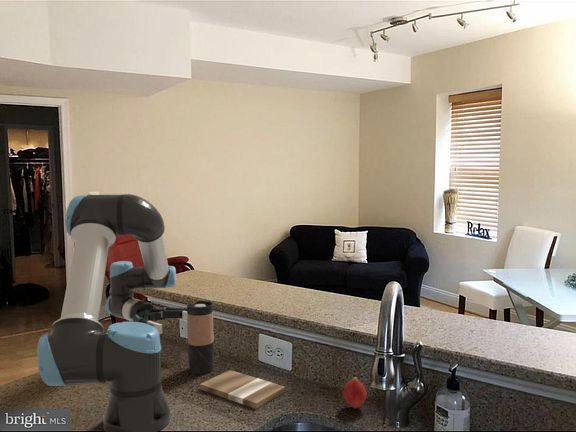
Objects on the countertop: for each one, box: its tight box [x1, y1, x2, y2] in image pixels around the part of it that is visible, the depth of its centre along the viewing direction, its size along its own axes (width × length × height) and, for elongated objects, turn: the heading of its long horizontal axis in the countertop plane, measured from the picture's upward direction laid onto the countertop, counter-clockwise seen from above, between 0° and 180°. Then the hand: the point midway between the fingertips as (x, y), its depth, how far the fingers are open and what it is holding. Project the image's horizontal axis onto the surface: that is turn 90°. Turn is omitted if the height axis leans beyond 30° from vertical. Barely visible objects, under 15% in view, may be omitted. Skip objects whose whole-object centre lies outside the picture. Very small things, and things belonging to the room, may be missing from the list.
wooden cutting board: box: [199, 369, 286, 410], centre depth 137 cm, size 20×12×2 cm, turn 54°
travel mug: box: [186, 300, 215, 375], centre depth 151 cm, size 8×8×20 cm
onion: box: [342, 376, 367, 409], centre depth 126 cm, size 6×6×8 cm
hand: (179, 323), depth 157 cm, fingers open, 13 cm apart
